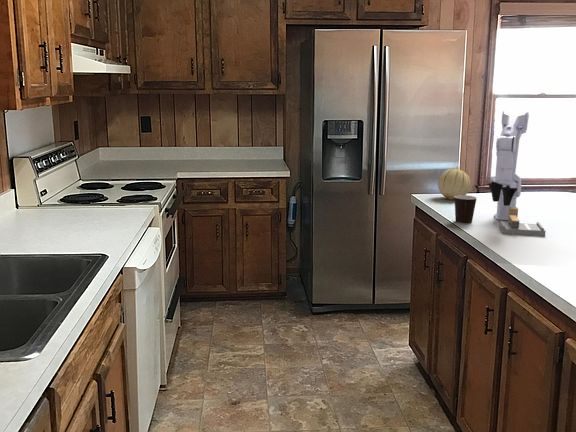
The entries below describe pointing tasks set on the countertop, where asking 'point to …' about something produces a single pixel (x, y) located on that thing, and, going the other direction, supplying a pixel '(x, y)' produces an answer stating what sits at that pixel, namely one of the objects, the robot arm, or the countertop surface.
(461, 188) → the cantaloupe
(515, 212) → the oak post
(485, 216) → the countertop surface
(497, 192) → the robot arm
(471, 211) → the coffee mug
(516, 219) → the breaker toggle
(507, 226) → the box
